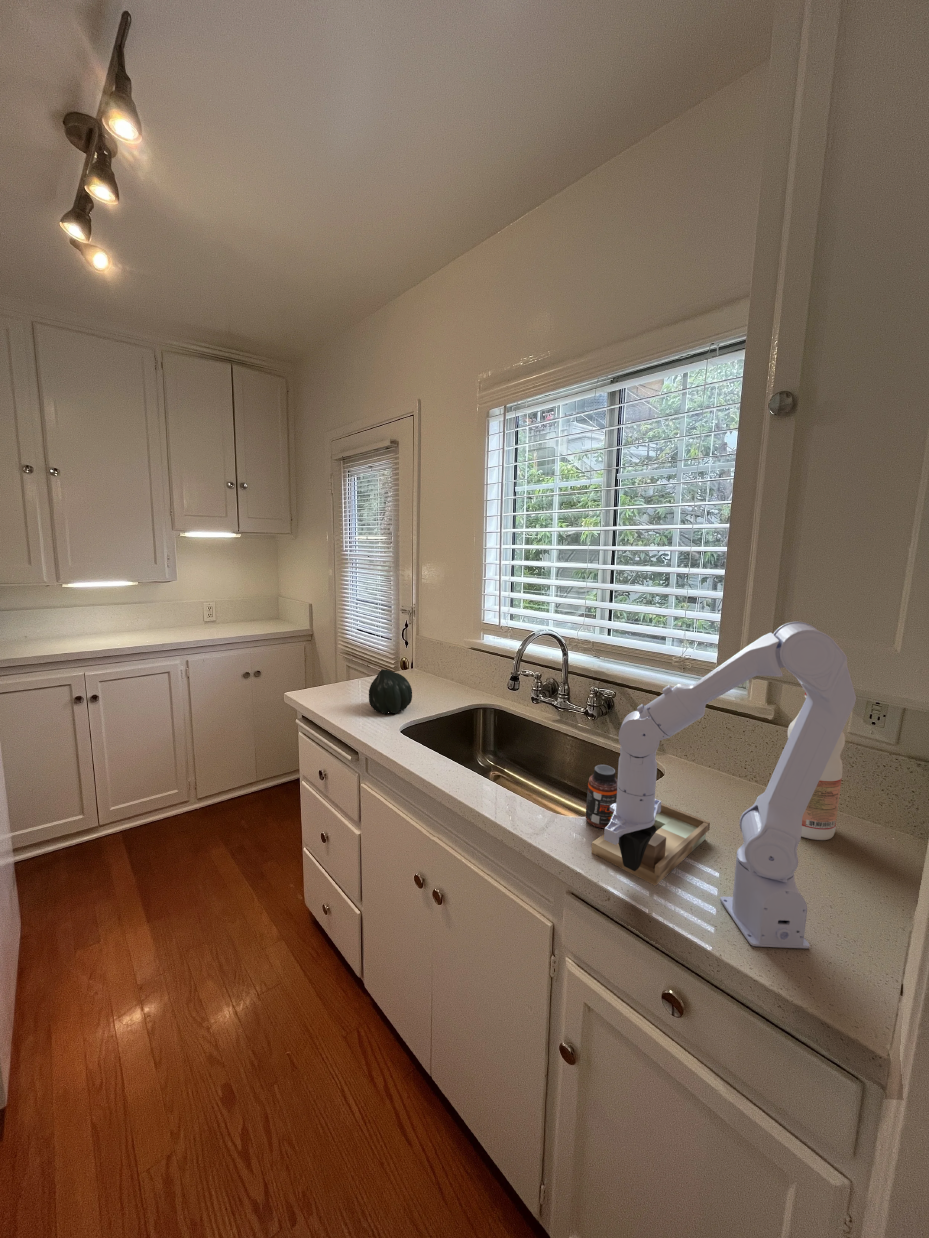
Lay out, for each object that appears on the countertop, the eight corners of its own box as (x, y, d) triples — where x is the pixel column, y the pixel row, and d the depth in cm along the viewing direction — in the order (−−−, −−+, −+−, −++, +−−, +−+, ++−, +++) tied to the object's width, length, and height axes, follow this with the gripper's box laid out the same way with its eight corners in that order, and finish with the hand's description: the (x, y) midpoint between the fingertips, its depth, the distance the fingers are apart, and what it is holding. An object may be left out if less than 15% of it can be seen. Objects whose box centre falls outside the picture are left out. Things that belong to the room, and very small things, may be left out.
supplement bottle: (599, 833, 95) (603, 780, 93) (579, 816, 101) (582, 765, 98) (622, 824, 98) (627, 772, 96) (601, 809, 103) (605, 759, 101)
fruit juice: (768, 823, 99) (782, 688, 96) (790, 811, 105) (804, 682, 101) (821, 847, 92) (839, 700, 88) (843, 832, 97) (860, 693, 93)
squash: (427, 694, 167) (403, 658, 171) (399, 707, 155) (373, 668, 158) (403, 715, 174) (381, 680, 178) (374, 729, 162) (351, 691, 165)
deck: (658, 887, 80) (659, 866, 79) (589, 851, 89) (590, 832, 89) (708, 839, 94) (710, 821, 93) (643, 812, 103) (644, 796, 103)
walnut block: (653, 869, 81) (655, 846, 81) (631, 858, 84) (632, 836, 84) (664, 859, 84) (666, 837, 84) (642, 848, 87) (644, 827, 87)
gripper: (635, 766, 86) (630, 839, 88) (588, 793, 77) (584, 874, 78) (675, 780, 81) (669, 857, 83) (630, 810, 71) (625, 897, 73)
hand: (631, 866), depth 80 cm, fingers closed
